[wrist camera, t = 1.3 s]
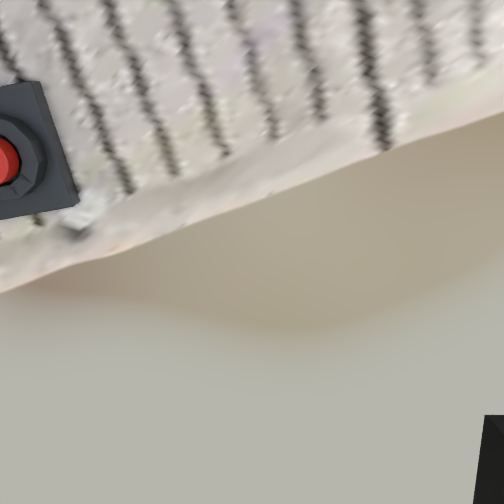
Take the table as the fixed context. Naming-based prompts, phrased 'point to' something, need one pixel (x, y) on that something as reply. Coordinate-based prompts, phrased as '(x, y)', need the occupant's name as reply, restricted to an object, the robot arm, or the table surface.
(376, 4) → the table surface
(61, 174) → the button base
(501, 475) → the robot arm
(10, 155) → the button
